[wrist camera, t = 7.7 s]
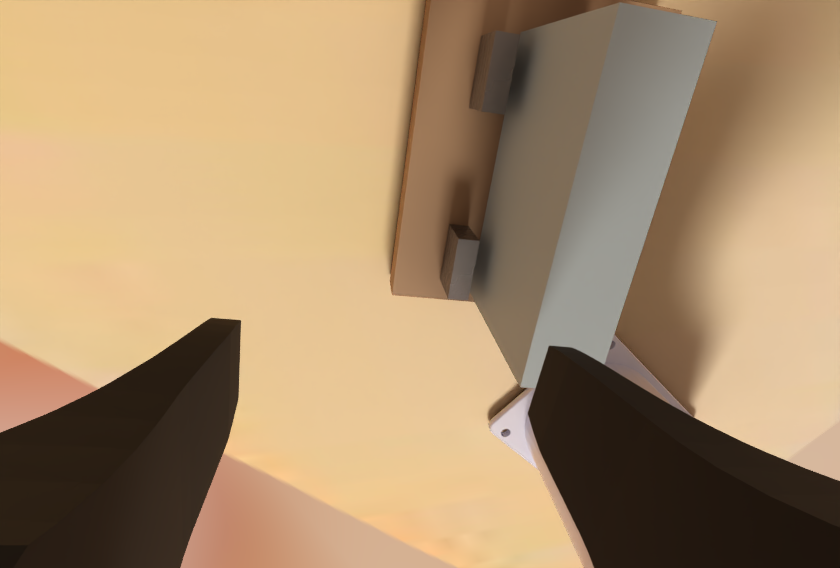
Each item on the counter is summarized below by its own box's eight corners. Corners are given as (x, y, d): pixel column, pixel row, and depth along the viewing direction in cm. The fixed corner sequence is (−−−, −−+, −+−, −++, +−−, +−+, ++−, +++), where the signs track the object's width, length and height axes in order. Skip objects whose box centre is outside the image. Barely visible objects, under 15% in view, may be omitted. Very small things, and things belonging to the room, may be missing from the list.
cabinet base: (657, 15, 19) (681, 10, 17) (576, 298, 23) (590, 311, 22) (429, -29, 17) (436, -38, 16) (389, 281, 22) (392, 294, 20)
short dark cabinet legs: (617, 59, 18) (647, 57, 16) (555, 289, 21) (574, 309, 19) (480, 35, 17) (496, 30, 15) (439, 279, 20) (447, 298, 18)
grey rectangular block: (604, 47, 17) (748, 27, 11) (540, 298, 21) (619, 392, 15) (520, 32, 17) (619, 1, 11) (469, 292, 21) (520, 387, 14)
